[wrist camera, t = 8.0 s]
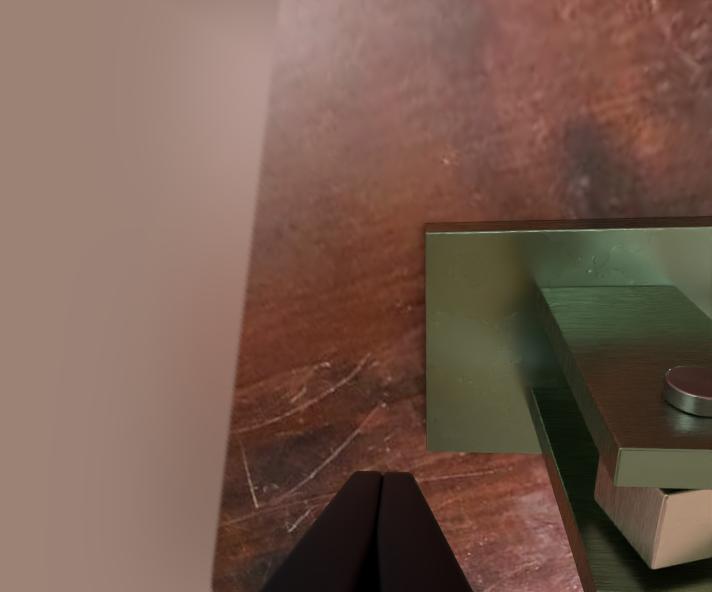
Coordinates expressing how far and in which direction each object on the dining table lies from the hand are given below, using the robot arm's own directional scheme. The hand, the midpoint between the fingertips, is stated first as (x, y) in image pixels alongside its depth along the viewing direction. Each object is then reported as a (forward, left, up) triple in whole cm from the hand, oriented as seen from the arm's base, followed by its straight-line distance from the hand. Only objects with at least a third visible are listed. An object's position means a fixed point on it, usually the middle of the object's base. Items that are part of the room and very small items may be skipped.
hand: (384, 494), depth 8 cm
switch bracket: (+5, -6, -13) cm, 15 cm away
